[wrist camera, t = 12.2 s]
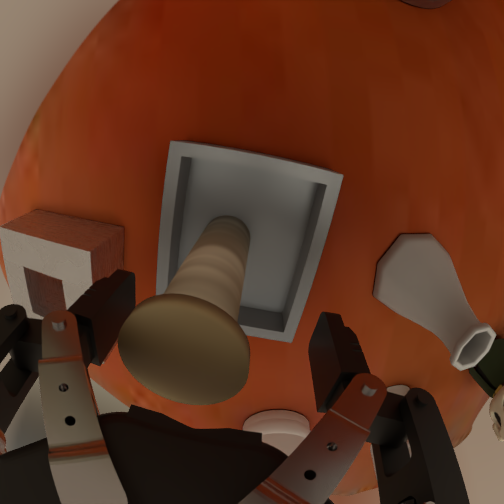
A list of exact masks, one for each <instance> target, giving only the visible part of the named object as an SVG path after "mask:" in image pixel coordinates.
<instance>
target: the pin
mask: <svg viewBox="0 0 504 504" xmlns="http://www.w3.org/2000/svg"><path fill="white" fill-rule="evenodd" d="M249 246H250V232H249V230H248V228H247V226H246V225H245V223H244V222H243V221H241V220H240V219H238V218H236V217H234V216H229V215H224V216H219V217H216V218H215V219H213V220H212V221H210V223H209V224H208V225H207V227H206V228H205V230H204V231H203V233H202V234H201V236H200V237H199V239H198V240H197V242H196V243H195V245H194V246H193V248H192V249H191V251H190V252H189V254H188V255H187V257H186V259H185V260H184V262H183V263H182V265H181V266H180V268H179V270H178V271H177V273H176V274H175V276H174V278H173V279H172V281H171V282H170V284H169V286H168V287H167V289H166V290H165V292H164V294H161V295H156V296H153V297H150V298H147V299H146V300H144V301H142V302H141V303H139V304H138V305H137V306H136V307H135V308H134V309H133V311H132V312H131V314H130V315H129V316H128V318H127V319H126V321H125V322H124V324H123V325H122V327H121V329H120V332H119V335H118V349H119V353H120V356H121V359H122V361H123V363H124V365H125V366H126V368H127V369H128V371H129V372H130V373H131V374H132V375H133V376H134V377H135V378H136V379H137V380H138V381H139V382H140V383H141V384H142V385H143V386H145V387H146V388H148V389H149V390H151V391H152V392H154V393H156V394H158V395H160V396H162V397H164V398H167V399H169V400H172V401H176V402H179V403H184V404H191V405H209V404H215V403H219V402H223V401H225V400H228V399H229V398H231V397H233V396H234V395H236V394H237V393H238V392H239V391H240V390H241V389H242V388H243V386H244V385H245V383H246V381H247V378H248V373H249V362H250V347H249V342H248V339H247V337H246V335H245V333H244V331H243V329H242V328H241V327H240V325H239V324H238V323H237V321H238V315H239V308H240V302H241V296H242V289H243V283H244V277H245V271H246V264H247V258H248V252H249Z"/></svg>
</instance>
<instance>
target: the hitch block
mask: <svg viewBox="0 0 504 504" xmlns="http://www.w3.org/2000/svg"><path fill="white" fill-rule="evenodd" d="M0 238H1V245H2V251H3V258H4V263H5V269H6V274H7V278H8V283H9V287H10V292H11V296H12V299H13V303H14V304H18V305H21V306H23V307H24V308H25V310H26V313H27V317H28V318H34V319H42V320H43V318H44V317H45V316H46V315H47V314H49V313H50V312H53V311H57V310H65V311H67V310H68V308H69V307H70V306H71V305H72V304H73V303H74V302H75V301H76V300H77V299H78V298H79V297H80V296H81V295H82V294H84V292H85V291H86V290H87V289H89V287H90V286H91V285H92V284H93V283H94V282H95V281H97V280H100V279H102V278H104V277H107V278H109V276H110V275H111V274H112V273H113V272H115V271H116V270H117V269H121V270H124V227H121V226H116V225H111V224H106V223H101V222H97V221H92V220H87V219H82V218H77V217H72V216H67V215H62V214H57V213H52V212H47V211H42V210H37V209H36V210H33V211H31V212H29V213H27V214H24V215H22V216H20V217H18V218H16V219H14V220H12V221H10V222H8V223H6V224H4V225H2V226H0ZM62 284H63V285H62ZM117 342H118V339H117V340H116V342H115V344H114V345H113V347H112V348H111V350H110V351H109V353H108V355H107V356H106V358H105V359H104V361H103V364H104V363H105V362H106V360H107V358H108V357H109V355H110V354H111V352H112V350H113V349H114V347H115V346H116V344H117Z"/></svg>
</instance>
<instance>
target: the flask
mask: <svg viewBox="0 0 504 504" xmlns="http://www.w3.org/2000/svg"><path fill="white" fill-rule="evenodd" d="M373 296H374V297H375V298H376V299H378V300H379V301H381V302H382V303H383V304H385V305H386V306H387V307H389V308H390V309H391V310H393V311H394V312H396V313H398V314H400V315H402V316H404V317H406V318H408V319H410V320H412V321H414V322H416V323H417V324H419V325H421V326H423V327H424V328H426V329H428V330H430V331H431V332H433V333H434V334H435V335H436V336H437V337H438V338H439V339H441V340H442V341H443V343H444V344H445V346H446V347H447V348H448V350H449V351H450V353H451V356H450V362H451V364H452V365H453V366H454V367H456V368H457V369H459V370H460V371H461V370H464V369H468V368H471V367H474V366H475V365H476V364H477V363H478V362H479V361H480V360H481V359H482V358H483V357H484V356H485V355H486V354H487V353H488V352H489V350H490V348H491V346H492V343H493V341H494V339H495V337H496V333H495V332H494V331H493V329H492V328H491V327H490V326H489V324H487V323H481V322H480V321H479V320H478V319H477V318H476V316H475V314H474V313H473V311H472V309H471V307H470V306H469V304H468V302H467V300H466V297H465V295H464V292H463V289H462V287H461V284H460V282H459V279H458V277H457V274H456V271H455V268H454V266H453V263H452V260H451V258H450V256H449V253H448V252H447V251H446V250H445V249H444V248H443V247H442V245H441V244H440V243H439V242H438V241H437V240H436V239H435V238H434V237H433V236H432V235H431V234H401V235H400V236H399V237H398V239H397V240H396V241H395V242H394V244H393V245H392V246H391V247H390V249H389V250H388V251H387V252H386V254H385V255H384V256H383V257H382V259H381V260H380V261H379V262H378V264H377V271H376V278H375V285H374V291H373Z"/></svg>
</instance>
